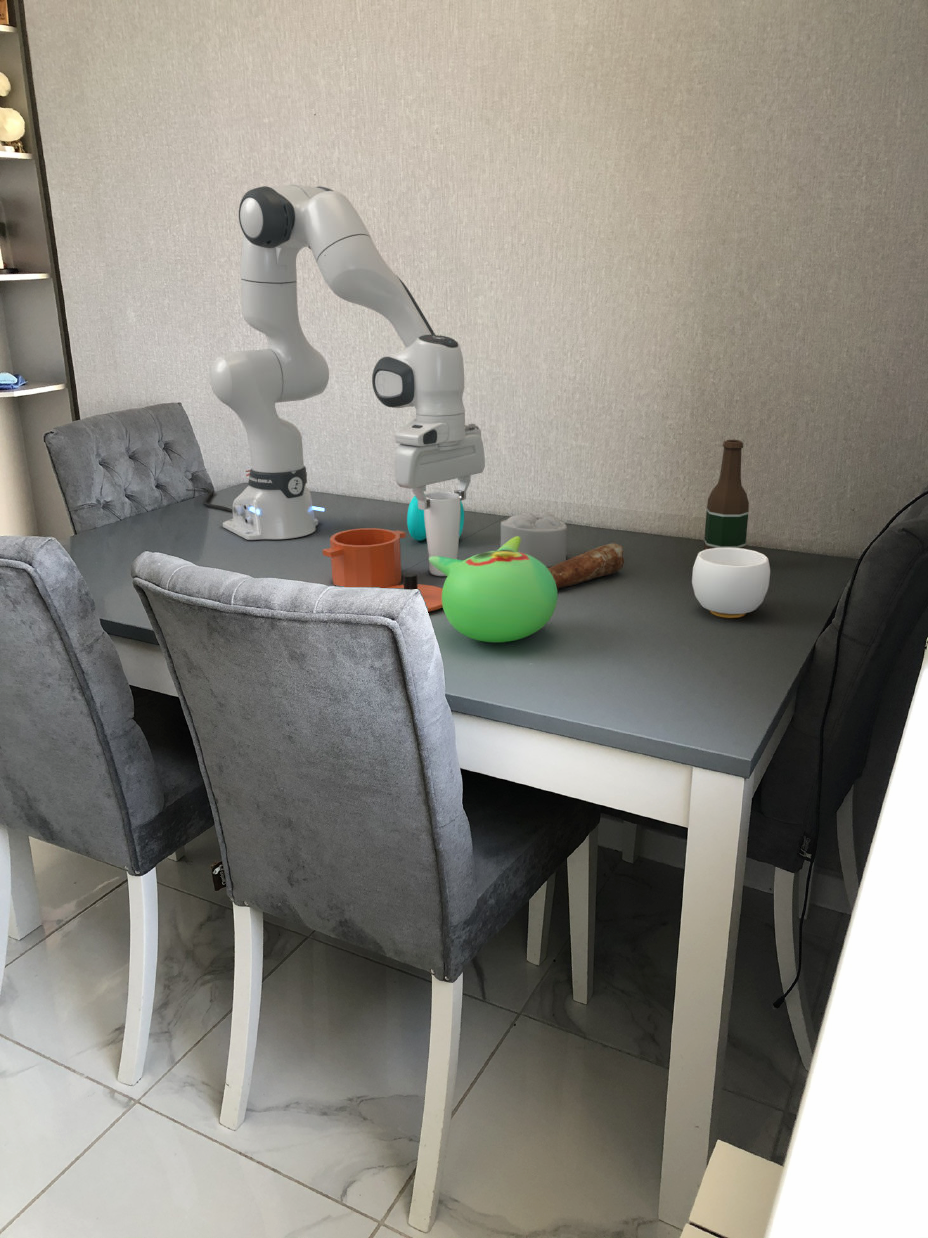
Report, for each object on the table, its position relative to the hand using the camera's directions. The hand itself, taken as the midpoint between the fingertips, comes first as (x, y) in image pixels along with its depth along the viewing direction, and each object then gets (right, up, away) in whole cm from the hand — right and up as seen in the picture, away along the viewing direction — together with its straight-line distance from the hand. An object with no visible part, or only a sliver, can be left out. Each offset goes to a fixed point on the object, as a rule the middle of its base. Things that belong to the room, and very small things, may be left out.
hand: (442, 504), depth 179 cm
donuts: (-2, -5, +26) cm, 27 cm away
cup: (+48, -20, -18) cm, 55 cm away
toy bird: (+9, -24, -27) cm, 37 cm away
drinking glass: (0, -13, +5) cm, 14 cm away
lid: (-5, -18, -12) cm, 22 cm away
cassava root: (+26, -15, -1) cm, 30 cm away
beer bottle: (+54, -11, +7) cm, 55 cm away
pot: (-14, -14, +1) cm, 20 cm away
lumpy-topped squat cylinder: (+18, -9, +13) cm, 24 cm away
